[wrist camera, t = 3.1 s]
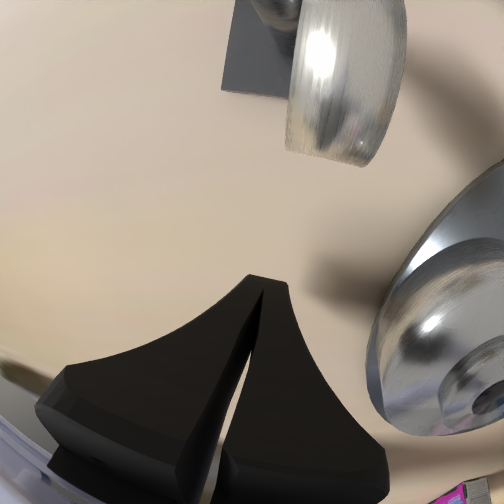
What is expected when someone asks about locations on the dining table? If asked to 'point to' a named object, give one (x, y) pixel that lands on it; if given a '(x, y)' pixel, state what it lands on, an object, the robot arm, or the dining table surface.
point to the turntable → (438, 238)
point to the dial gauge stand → (322, 69)
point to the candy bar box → (467, 493)
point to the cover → (445, 341)
